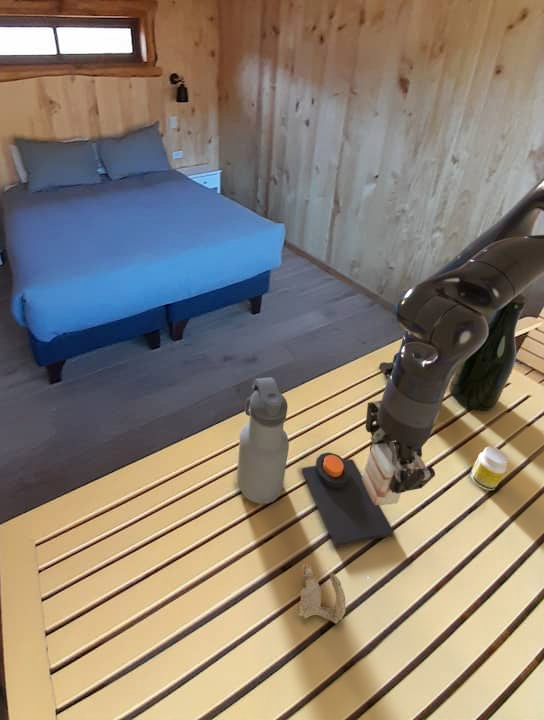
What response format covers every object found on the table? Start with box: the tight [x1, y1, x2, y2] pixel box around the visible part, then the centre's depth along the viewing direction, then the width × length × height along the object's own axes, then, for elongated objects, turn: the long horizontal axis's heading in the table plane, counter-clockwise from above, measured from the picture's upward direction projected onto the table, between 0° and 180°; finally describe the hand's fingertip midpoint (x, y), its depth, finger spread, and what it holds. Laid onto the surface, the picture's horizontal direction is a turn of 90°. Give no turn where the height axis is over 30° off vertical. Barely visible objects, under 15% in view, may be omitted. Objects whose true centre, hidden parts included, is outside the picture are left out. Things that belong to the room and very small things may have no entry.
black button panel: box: [301, 452, 394, 548], centre depth 83 cm, size 16×12×3 cm
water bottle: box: [236, 377, 290, 505], centre depth 81 cm, size 10×10×28 cm
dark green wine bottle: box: [448, 292, 526, 413], centre depth 99 cm, size 10×10×33 cm
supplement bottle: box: [470, 446, 509, 491], centre depth 85 cm, size 5×5×8 cm
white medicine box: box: [361, 443, 406, 506], centre depth 69 cm, size 5×4×10 cm
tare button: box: [323, 455, 344, 478], centre depth 86 cm, size 4×4×2 cm
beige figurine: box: [297, 563, 347, 624], centre depth 67 cm, size 9×6×10 cm
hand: (385, 472), depth 69 cm, fingers closed on white medicine box, 5 cm apart
